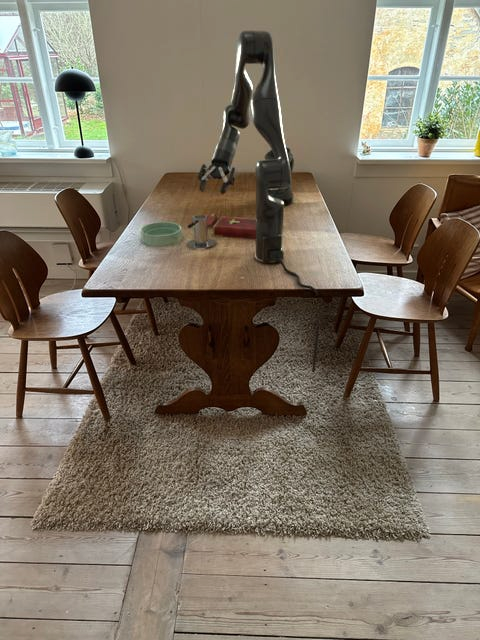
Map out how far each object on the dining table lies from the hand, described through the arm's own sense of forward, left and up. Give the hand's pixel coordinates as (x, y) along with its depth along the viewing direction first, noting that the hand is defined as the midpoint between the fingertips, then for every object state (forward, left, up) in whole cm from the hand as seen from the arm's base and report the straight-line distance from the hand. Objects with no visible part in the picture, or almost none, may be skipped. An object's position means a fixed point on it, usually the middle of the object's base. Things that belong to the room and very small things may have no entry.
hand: (211, 192), depth 170 cm
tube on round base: (-11, +8, -16) cm, 21 cm away
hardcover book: (-1, -12, -17) cm, 21 cm away
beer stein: (+37, -37, -17) cm, 55 cm away
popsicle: (+15, -1, -17) cm, 23 cm away
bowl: (-1, +20, -17) cm, 26 cm away
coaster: (-9, +6, -17) cm, 20 cm away
